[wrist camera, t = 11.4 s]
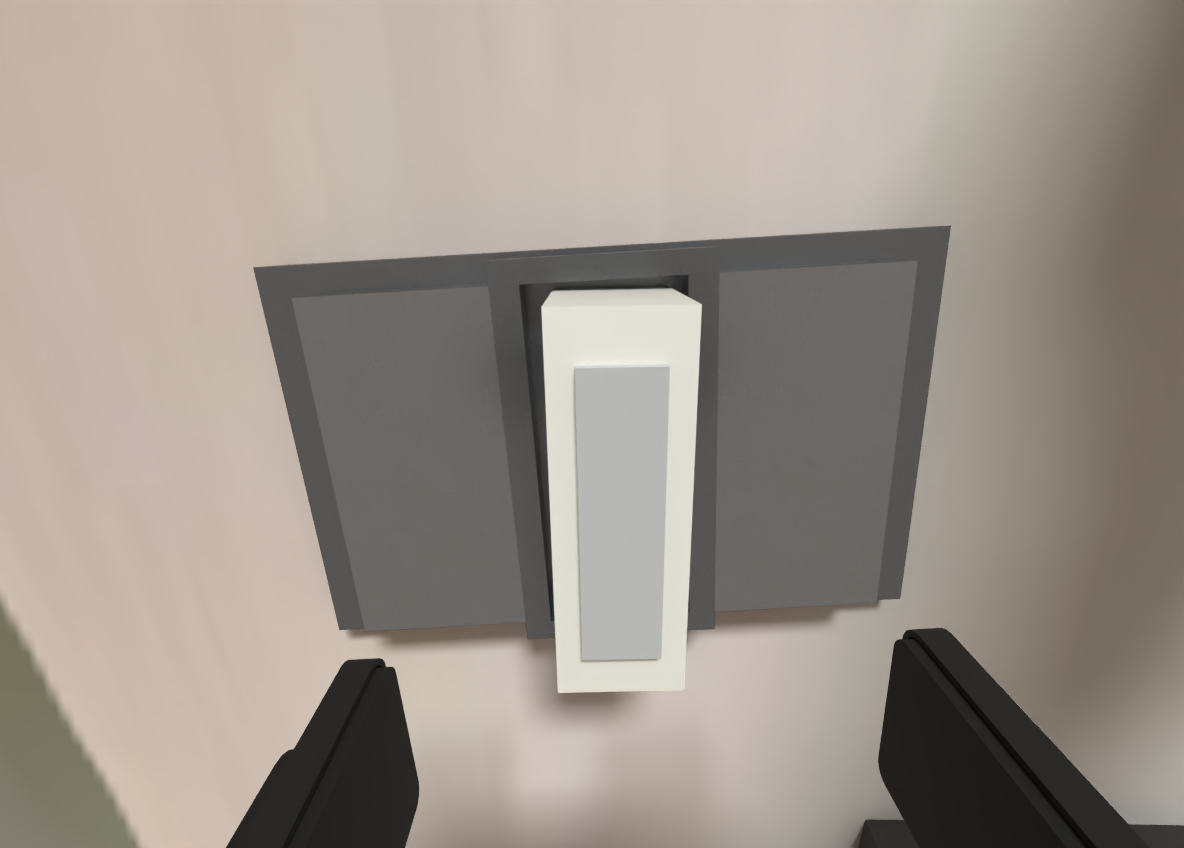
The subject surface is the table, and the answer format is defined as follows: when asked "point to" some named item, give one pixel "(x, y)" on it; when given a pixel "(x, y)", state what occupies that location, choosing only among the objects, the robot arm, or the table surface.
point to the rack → (519, 435)
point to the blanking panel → (621, 482)
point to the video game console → (893, 844)
